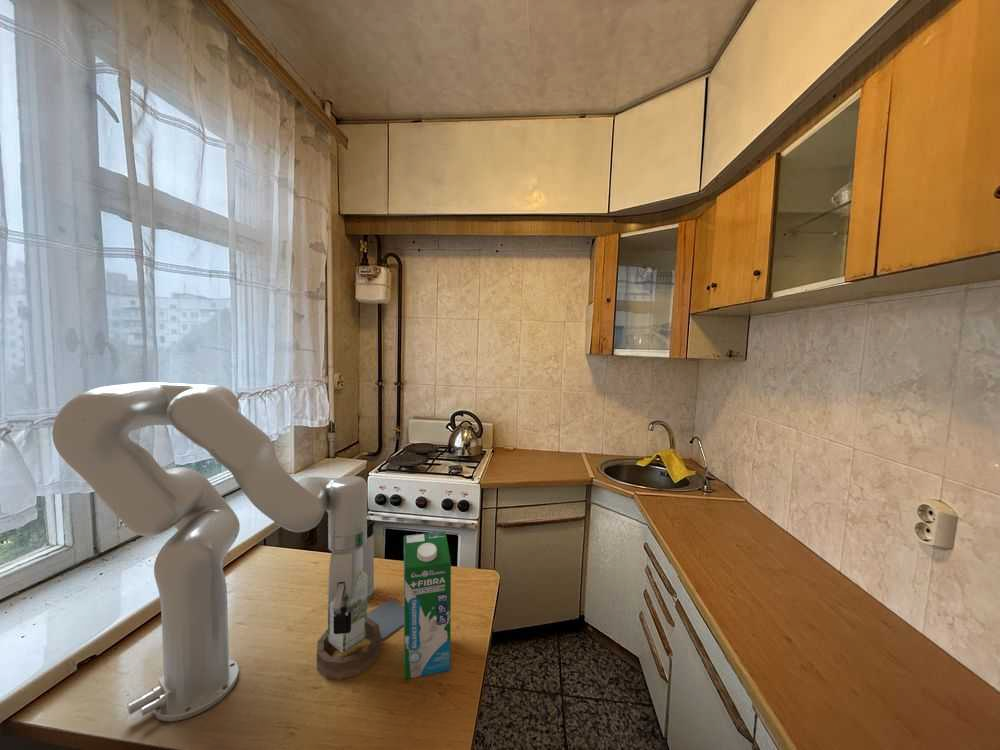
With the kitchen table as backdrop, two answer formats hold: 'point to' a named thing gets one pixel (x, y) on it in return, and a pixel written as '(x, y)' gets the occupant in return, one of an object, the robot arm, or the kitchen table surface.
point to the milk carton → (427, 604)
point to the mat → (388, 617)
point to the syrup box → (357, 617)
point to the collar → (349, 664)
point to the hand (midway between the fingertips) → (347, 617)
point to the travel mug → (369, 558)
